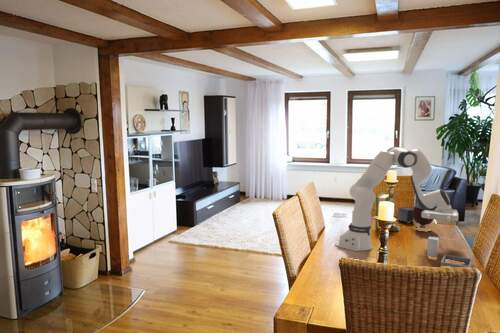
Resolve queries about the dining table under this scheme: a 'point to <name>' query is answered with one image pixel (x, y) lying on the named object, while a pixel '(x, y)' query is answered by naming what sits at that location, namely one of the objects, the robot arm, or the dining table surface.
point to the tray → (467, 261)
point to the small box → (405, 214)
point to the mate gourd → (418, 218)
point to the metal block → (432, 246)
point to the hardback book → (381, 198)
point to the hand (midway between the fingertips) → (437, 218)
